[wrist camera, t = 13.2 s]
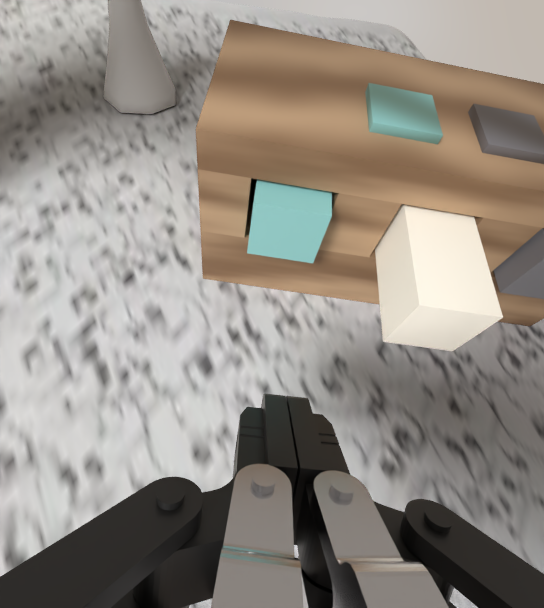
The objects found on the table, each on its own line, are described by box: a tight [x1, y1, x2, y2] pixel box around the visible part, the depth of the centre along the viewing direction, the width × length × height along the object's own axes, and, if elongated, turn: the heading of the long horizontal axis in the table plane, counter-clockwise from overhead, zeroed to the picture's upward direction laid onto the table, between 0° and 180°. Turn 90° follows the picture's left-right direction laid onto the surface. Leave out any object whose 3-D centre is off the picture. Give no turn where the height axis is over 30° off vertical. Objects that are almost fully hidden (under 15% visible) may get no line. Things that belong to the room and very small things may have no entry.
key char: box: [493, 228, 544, 299], centre depth 23 cm, size 10×4×4 cm, turn 175°
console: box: [196, 20, 544, 326], centre depth 25 cm, size 11×26×12 cm, turn 85°
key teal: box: [247, 179, 332, 263], centre depth 22 cm, size 10×4×4 cm, turn 175°
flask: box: [103, 0, 176, 114], centre depth 32 cm, size 7×7×10 cm
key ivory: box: [375, 204, 503, 351], centre depth 20 cm, size 10×4×4 cm, turn 176°
